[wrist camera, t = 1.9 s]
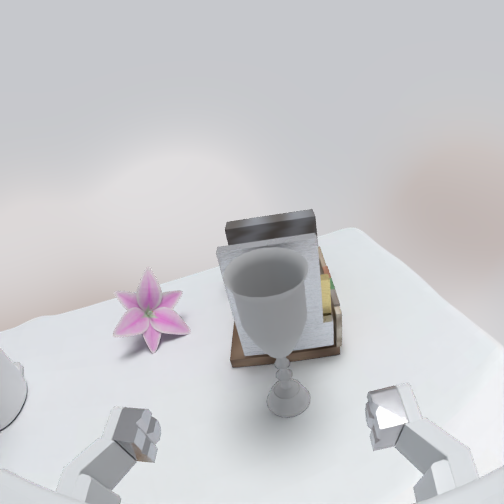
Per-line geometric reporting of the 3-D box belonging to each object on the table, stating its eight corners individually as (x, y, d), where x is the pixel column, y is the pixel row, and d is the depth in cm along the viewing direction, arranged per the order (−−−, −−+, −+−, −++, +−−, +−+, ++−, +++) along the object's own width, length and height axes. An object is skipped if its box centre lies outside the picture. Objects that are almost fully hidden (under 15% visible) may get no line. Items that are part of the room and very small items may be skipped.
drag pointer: (321, 338, 38) (317, 281, 34) (319, 332, 39) (315, 275, 35) (331, 337, 38) (329, 279, 34) (330, 330, 39) (328, 273, 35)
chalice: (252, 386, 36) (216, 260, 28) (304, 368, 37) (289, 240, 28) (269, 433, 30) (232, 308, 21) (328, 412, 30) (324, 279, 22)
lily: (118, 363, 44) (110, 336, 37) (115, 302, 51) (110, 268, 45) (191, 358, 48) (197, 331, 42) (180, 299, 56) (185, 265, 49)
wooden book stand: (232, 367, 39) (208, 295, 34) (240, 282, 57) (226, 222, 51) (341, 353, 38) (341, 277, 32) (319, 271, 55) (313, 209, 50)
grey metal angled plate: (244, 356, 38) (216, 252, 31) (247, 311, 46) (225, 217, 39) (333, 344, 37) (329, 236, 30) (323, 301, 45) (315, 204, 38)
